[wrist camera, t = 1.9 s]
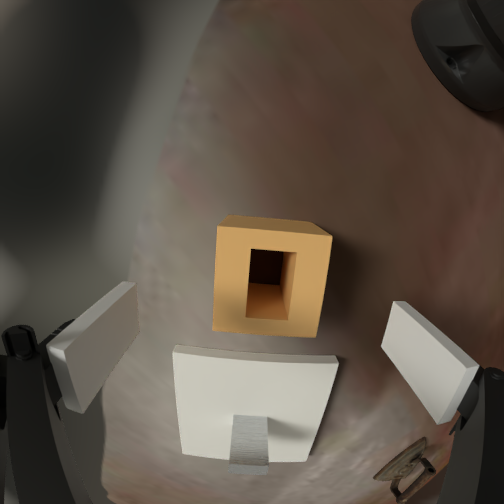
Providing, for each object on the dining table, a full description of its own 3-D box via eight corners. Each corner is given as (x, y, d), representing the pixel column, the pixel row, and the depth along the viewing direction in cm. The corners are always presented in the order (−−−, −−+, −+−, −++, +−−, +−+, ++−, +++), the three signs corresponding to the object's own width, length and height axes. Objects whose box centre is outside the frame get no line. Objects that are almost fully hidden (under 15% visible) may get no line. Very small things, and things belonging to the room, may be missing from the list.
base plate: (335, 355, 27) (338, 363, 25) (304, 453, 31) (305, 461, 29) (176, 344, 27) (172, 352, 25) (184, 445, 31) (182, 453, 29)
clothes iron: (370, 477, 34) (386, 512, 24) (399, 428, 34) (425, 461, 24) (401, 476, 33) (420, 507, 23) (430, 428, 34) (458, 457, 24)
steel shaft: (266, 416, 27) (268, 465, 20) (265, 426, 27) (266, 474, 21) (233, 414, 27) (228, 463, 20) (232, 424, 27) (228, 472, 21)
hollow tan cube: (228, 214, 24) (217, 225, 17) (311, 222, 24) (332, 236, 17) (223, 293, 25) (212, 330, 19) (301, 299, 25) (315, 337, 19)
